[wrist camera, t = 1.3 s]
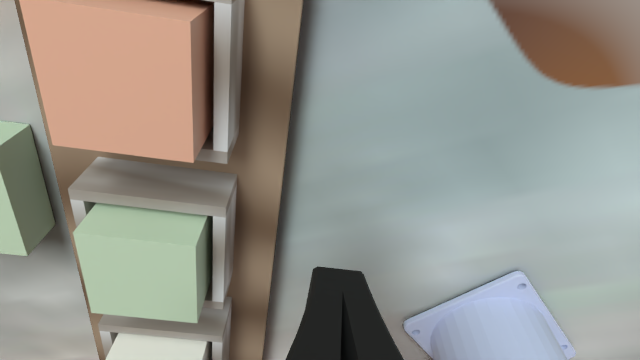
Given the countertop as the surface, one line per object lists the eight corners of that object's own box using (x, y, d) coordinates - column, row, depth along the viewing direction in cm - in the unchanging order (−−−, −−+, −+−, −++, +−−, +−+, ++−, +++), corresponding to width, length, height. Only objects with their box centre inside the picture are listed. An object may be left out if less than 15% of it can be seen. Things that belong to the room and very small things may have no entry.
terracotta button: (214, 123, 16) (193, 163, 13) (96, 108, 16) (52, 145, 13) (215, 1, 13) (190, 21, 11) (76, -20, 13) (18, -4, 11)
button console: (261, 364, 29) (252, 431, 25) (117, 351, 28) (85, 418, 25) (317, -118, 14) (314, -130, 10) (14, -172, 13) (-106, -207, 10)
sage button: (213, 272, 20) (197, 323, 18) (121, 262, 20) (91, 313, 17) (213, 199, 18) (195, 246, 15) (109, 186, 17) (72, 232, 15)
